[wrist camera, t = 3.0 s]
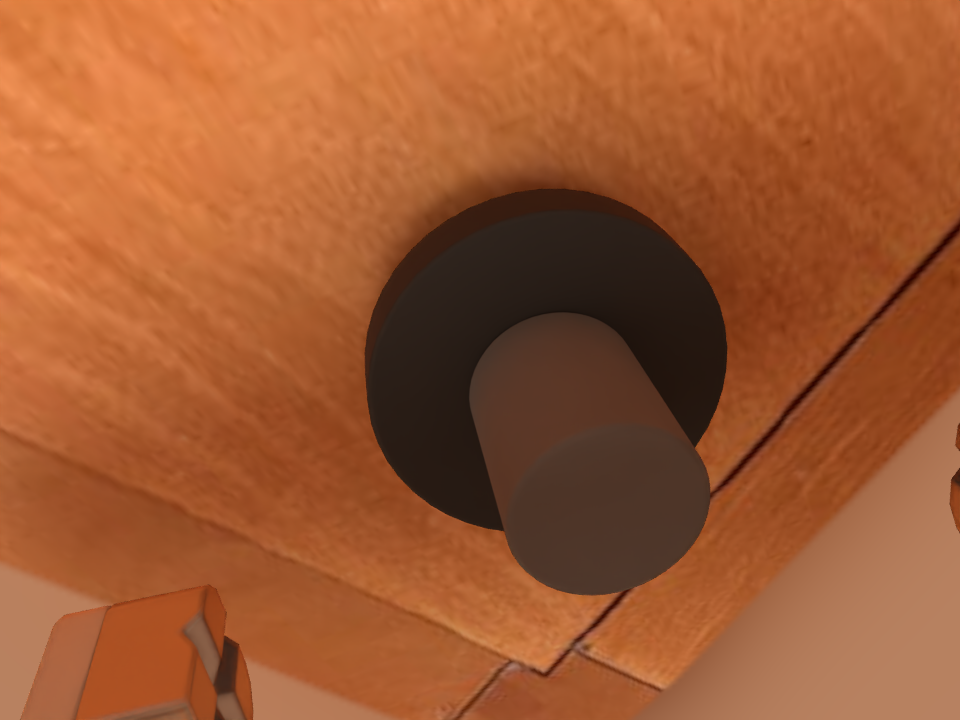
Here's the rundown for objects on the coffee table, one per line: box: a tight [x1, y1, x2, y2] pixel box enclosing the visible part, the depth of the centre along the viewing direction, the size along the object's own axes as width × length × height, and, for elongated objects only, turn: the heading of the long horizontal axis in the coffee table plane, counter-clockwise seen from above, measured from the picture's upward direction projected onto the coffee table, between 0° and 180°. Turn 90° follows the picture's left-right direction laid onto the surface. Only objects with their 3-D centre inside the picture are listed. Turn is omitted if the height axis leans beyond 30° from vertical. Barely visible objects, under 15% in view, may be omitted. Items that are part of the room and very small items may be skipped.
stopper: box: [365, 189, 727, 595], centre depth 13 cm, size 5×5×6 cm
